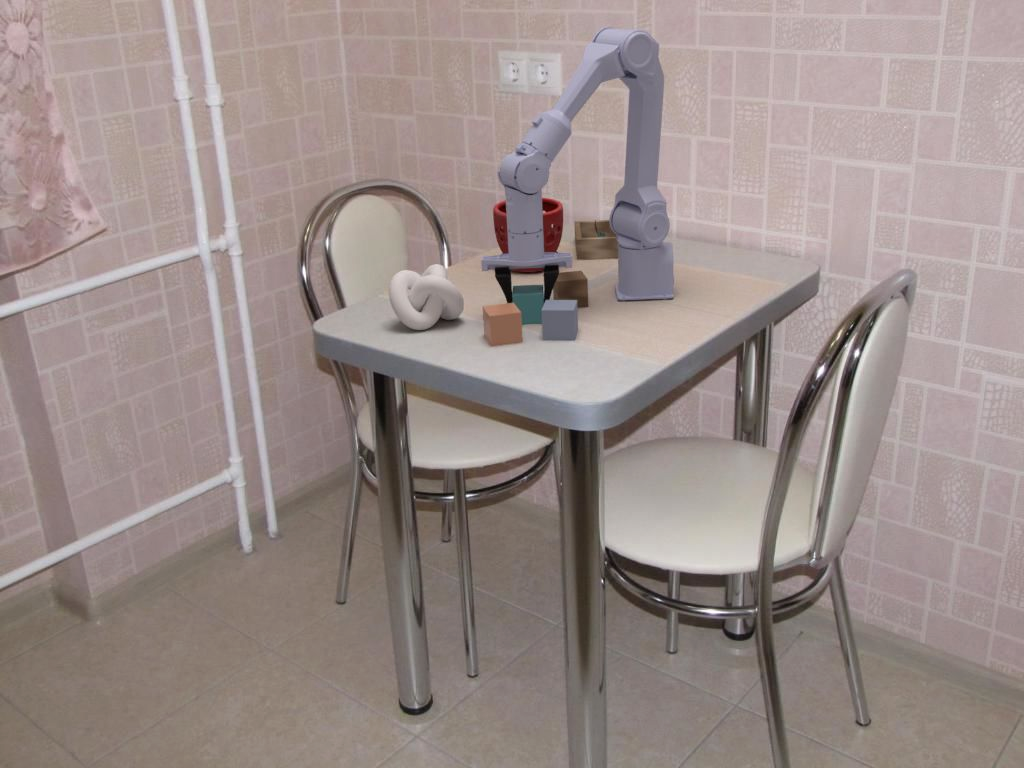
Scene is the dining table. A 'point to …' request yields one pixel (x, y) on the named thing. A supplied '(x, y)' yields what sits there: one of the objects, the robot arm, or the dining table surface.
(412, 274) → the white knot sculpture
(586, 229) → the wooden compartment box
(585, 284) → the walnut block
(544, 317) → the slate-blue block
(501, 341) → the terracotta block
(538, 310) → the teal block
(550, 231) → the plant pot
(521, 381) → the dining table surface
